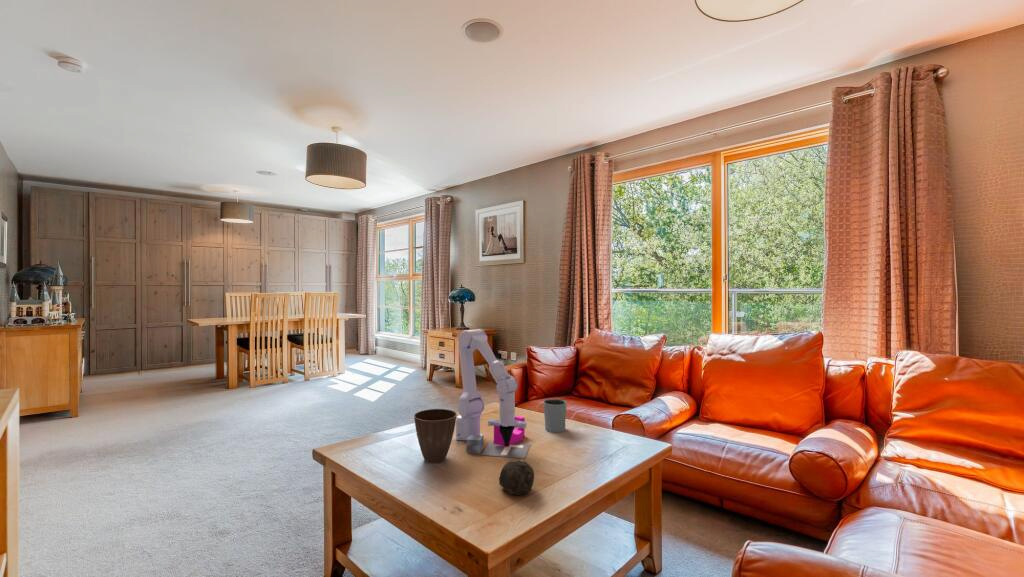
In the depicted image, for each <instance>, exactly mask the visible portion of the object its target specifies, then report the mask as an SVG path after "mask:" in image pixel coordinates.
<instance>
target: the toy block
mask: <svg viewBox="0 0 1024 577" xmlns="http://www.w3.org/2000/svg"><path fill="white" fill-rule="evenodd" d="M515 420H517V421H522V422H526V421H525V417H524V416H519V415H515ZM499 428H500V426H493V442H494V443H495V444H498V445H502V446H505V445H504V440H503V437H502V435H501V433H500V431H499ZM523 437H525V429H524V428H518V427H515V428H514V430H513V433H512V435H511V439H510V444H509V445H511V444H514V443H519V442H520V441H523Z"/></svg>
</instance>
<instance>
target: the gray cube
mask: <svg viewBox="0 0 1024 577" xmlns="http://www.w3.org/2000/svg"><path fill="white" fill-rule="evenodd" d="M483 451H484V435H483V436H480V435H470V436H469V437H468V439H467V440H466V453H468V454H470V453H471V454H478V455H479V454H482V452H483Z"/></svg>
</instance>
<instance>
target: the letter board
mask: <svg viewBox="0 0 1024 577" xmlns="http://www.w3.org/2000/svg"><path fill="white" fill-rule="evenodd" d="M531 446H532V444H530V443H529V444H528V443H518V442H516V443H514V444H511V445H509V446H508V447H505V446H502V445H498V444H495V443H494V441H489V443H488V445H487V446H486V447H485V449H483V451H482V452H481V453H480V454H481V456H486V457H487V456H488V457H498V458H499V457H500V458H511V459H523V460H525V459H526V456H527V454H528V452H529V449H530V447H531Z"/></svg>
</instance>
